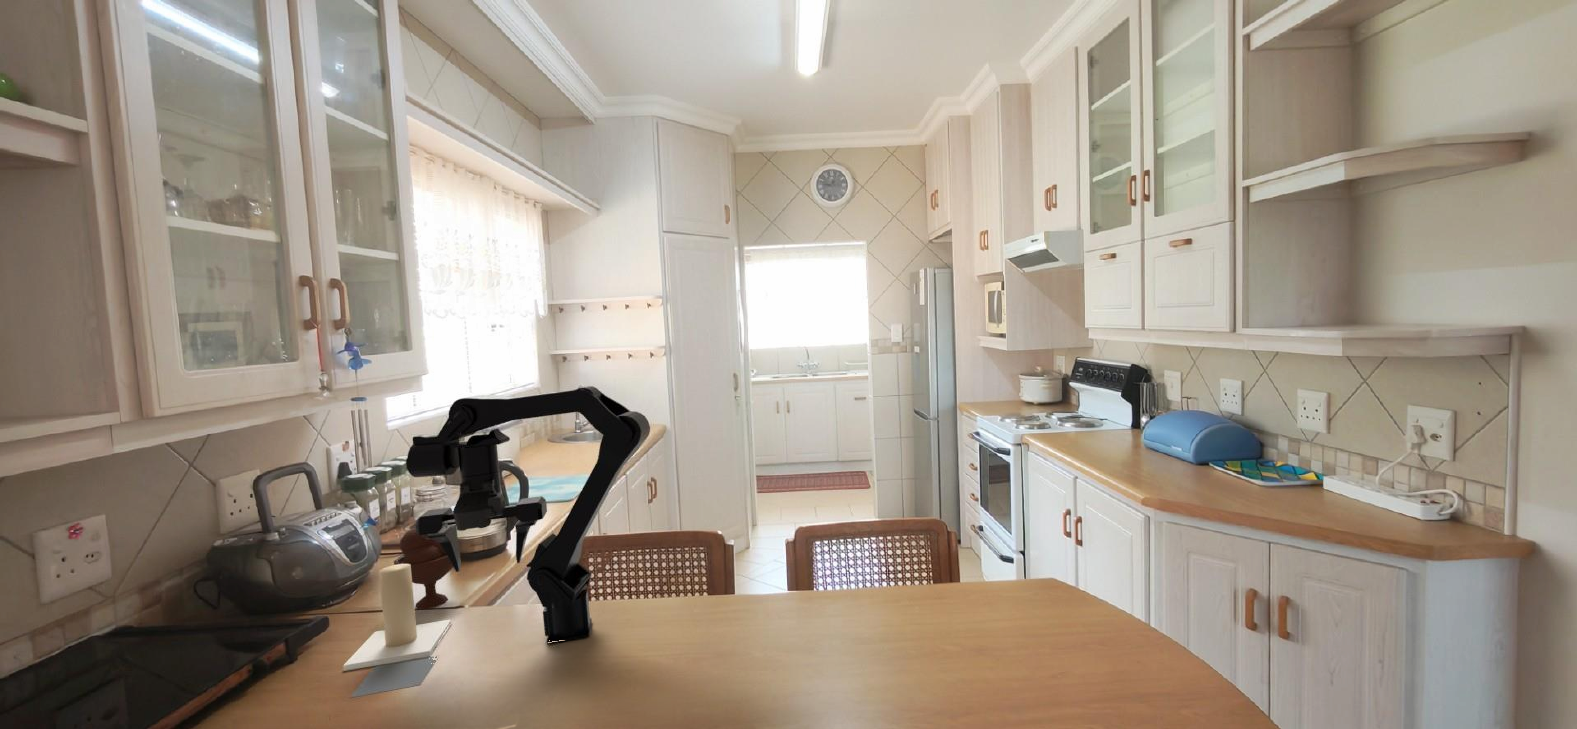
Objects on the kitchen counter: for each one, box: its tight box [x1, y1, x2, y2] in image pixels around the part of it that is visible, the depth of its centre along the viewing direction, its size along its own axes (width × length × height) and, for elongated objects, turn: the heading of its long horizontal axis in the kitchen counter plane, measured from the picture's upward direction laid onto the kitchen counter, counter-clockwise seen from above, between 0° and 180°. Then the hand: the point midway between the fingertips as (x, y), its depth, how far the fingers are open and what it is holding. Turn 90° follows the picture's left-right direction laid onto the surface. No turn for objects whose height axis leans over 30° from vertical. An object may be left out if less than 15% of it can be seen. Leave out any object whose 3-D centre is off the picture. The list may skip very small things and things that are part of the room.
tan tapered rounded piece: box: [378, 564, 417, 647], centre depth 104 cm, size 4×4×12 cm
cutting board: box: [343, 618, 453, 672], centre depth 104 cm, size 12×12×1 cm
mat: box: [349, 655, 438, 699], centre depth 94 cm, size 9×9×1 cm
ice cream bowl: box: [393, 527, 460, 610], centre depth 122 cm, size 11×11×15 cm
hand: (488, 566), depth 104 cm, fingers open, 9 cm apart
